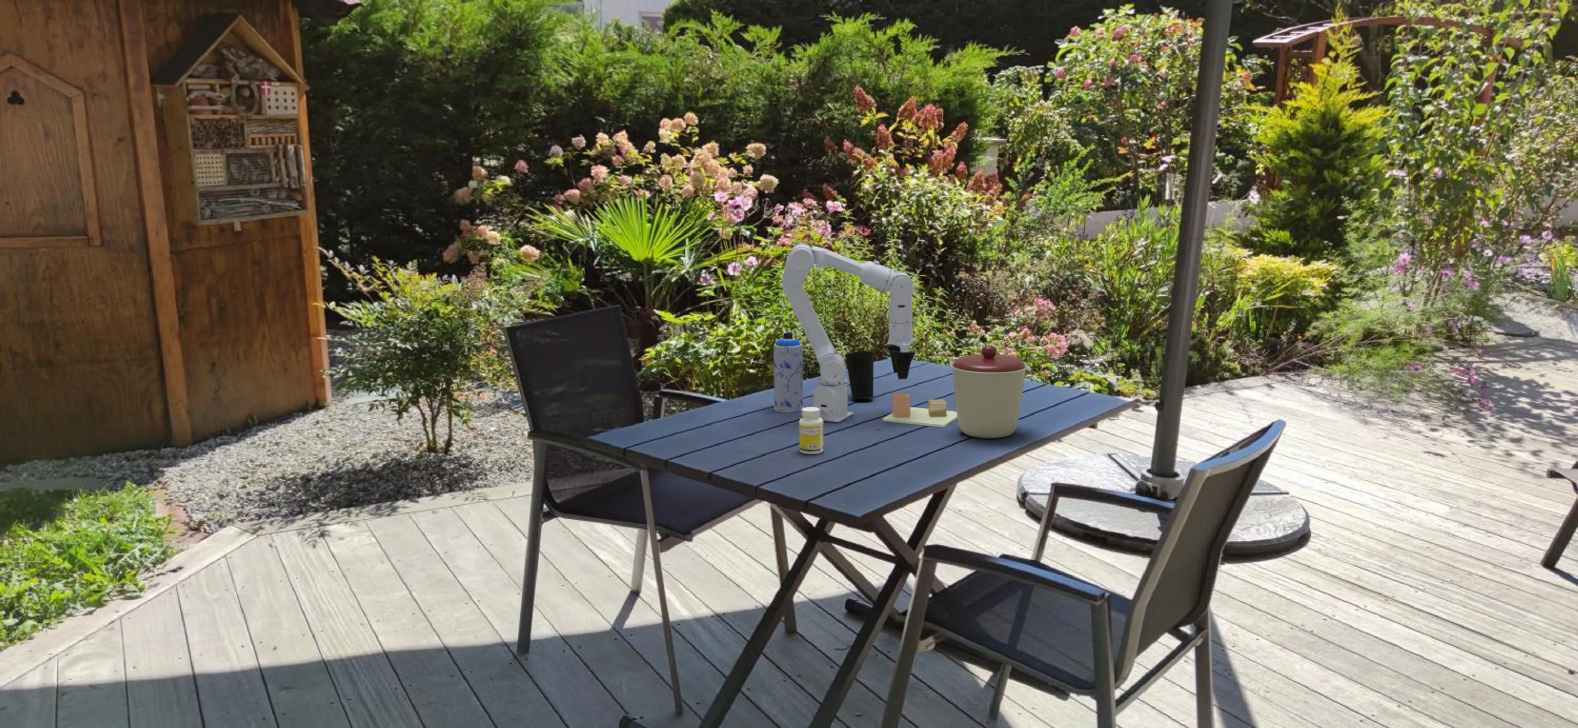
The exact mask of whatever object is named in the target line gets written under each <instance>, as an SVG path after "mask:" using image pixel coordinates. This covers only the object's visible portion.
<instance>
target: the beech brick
mask: <svg viewBox="0 0 1578 728" xmlns="http://www.w3.org/2000/svg"><path fill="white" fill-rule="evenodd" d="M927 401H928V402H927V403H928V404H927V405H928V408H927V409H928V413H929V415H930V417H946V411H948V410H947V408H948V407H947V402H946V400H945V399H928V400H927Z"/></svg>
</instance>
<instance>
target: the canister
mask: <svg viewBox="0 0 1578 728" xmlns="http://www.w3.org/2000/svg"><path fill="white" fill-rule="evenodd" d="M949 368H950V369H951V370H952V377H953V380H952V381H953V390H954V399H955V400H954V401H955V409H956V411H955V412H957V419H956V420H957V425H958V427H959V429H960V430H961V432H962V433H964V434H965V435H967V436H970V437H974V438H979V439H1001V438H1005V437H1008V436H1010V435H1013V433H1015V431H1016V430H1017V427H1018V423H1019V419H1020V418H1019V417H1020V412H1021V408H1022V407H1021V405H1022V400H1023V391H1024V384H1025V376H1026V372H1027V371H1028V369H1029V365H1028V363H1026V362H1024V361H1023V360H1021V359H1020V358H1017V357H1015V356H1010V355H1007V354H1006V355H1003V354H998V349H997V348H996V346H995V345H991V344H987V345H984V346H982V348H981V354H980V353H979V354H970V355H969V354H968V355H962V356H960V357H958V358H957V359H955V360H953V361H952V362H950V363H949Z"/></svg>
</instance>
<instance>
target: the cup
mask: <svg viewBox="0 0 1578 728" xmlns="http://www.w3.org/2000/svg"><path fill="white" fill-rule="evenodd" d="M874 356H875V353H874V351H856V352H855V351H854V352H849V353H848V352H847V353H845V354H844V357H845V365H846V369H847V374H848V382H849V386H850V391H851V397H852V399H853V400H856V399H858V400H859V399H870V398H874V364H875V363H874V359H875V357H874Z"/></svg>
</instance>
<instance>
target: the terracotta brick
mask: <svg viewBox="0 0 1578 728" xmlns="http://www.w3.org/2000/svg"><path fill="white" fill-rule="evenodd" d="M910 407H911V396H910V394H909V393H892V413H893V416H894V417H910Z"/></svg>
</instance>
